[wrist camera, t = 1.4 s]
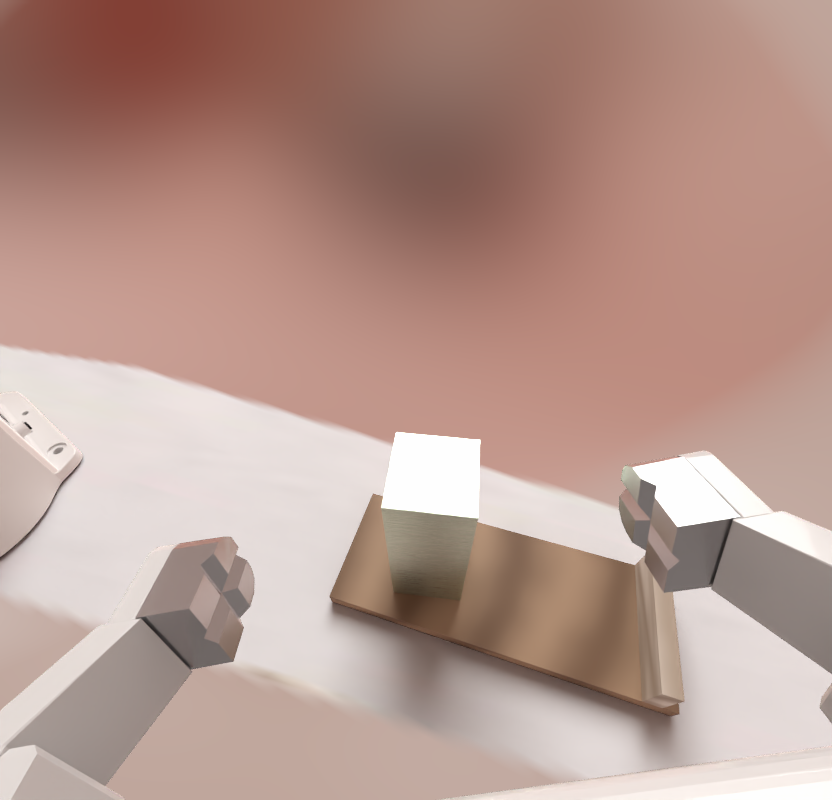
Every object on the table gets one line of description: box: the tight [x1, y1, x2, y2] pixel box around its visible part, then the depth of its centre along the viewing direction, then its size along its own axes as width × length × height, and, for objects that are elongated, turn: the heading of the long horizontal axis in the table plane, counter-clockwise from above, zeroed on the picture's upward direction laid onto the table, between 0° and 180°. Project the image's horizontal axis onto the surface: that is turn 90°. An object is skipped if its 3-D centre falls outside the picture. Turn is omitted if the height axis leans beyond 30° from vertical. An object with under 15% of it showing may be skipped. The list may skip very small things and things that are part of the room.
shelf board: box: [330, 494, 684, 716], centre depth 31 cm, size 24×9×4 cm, turn 73°
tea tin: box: [381, 432, 480, 601], centre depth 28 cm, size 5×5×13 cm
